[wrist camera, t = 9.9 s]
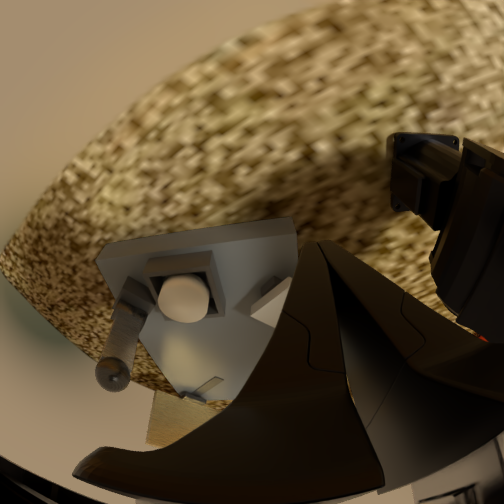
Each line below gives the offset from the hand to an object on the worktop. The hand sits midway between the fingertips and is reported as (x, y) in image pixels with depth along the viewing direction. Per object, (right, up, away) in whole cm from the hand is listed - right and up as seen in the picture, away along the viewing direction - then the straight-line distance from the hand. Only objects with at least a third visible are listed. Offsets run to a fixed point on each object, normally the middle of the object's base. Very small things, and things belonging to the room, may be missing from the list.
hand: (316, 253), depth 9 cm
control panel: (-5, -8, +20) cm, 22 cm away
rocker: (0, -4, +13) cm, 13 cm away
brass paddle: (-10, -19, +24) cm, 33 cm away
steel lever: (-12, -5, +12) cm, 17 cm away
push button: (-7, -3, +12) cm, 14 cm away
